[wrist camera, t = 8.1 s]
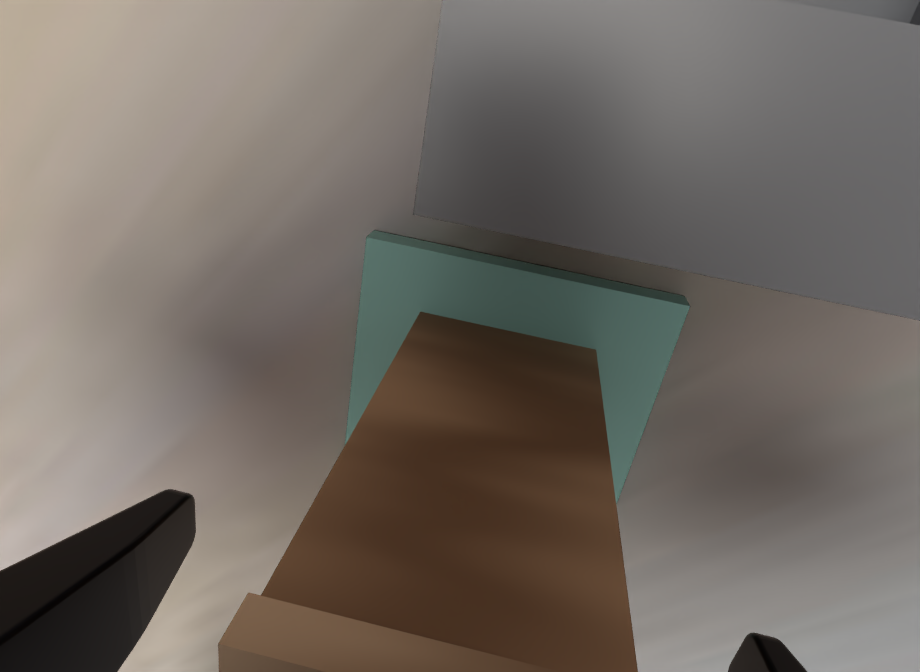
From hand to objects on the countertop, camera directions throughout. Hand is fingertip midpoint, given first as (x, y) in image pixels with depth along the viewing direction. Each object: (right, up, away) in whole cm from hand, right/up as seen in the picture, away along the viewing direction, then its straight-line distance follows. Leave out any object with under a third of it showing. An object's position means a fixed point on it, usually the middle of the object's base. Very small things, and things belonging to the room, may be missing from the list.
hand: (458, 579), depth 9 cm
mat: (+1, +2, +5) cm, 6 cm away
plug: (+1, +2, +5) cm, 5 cm away
